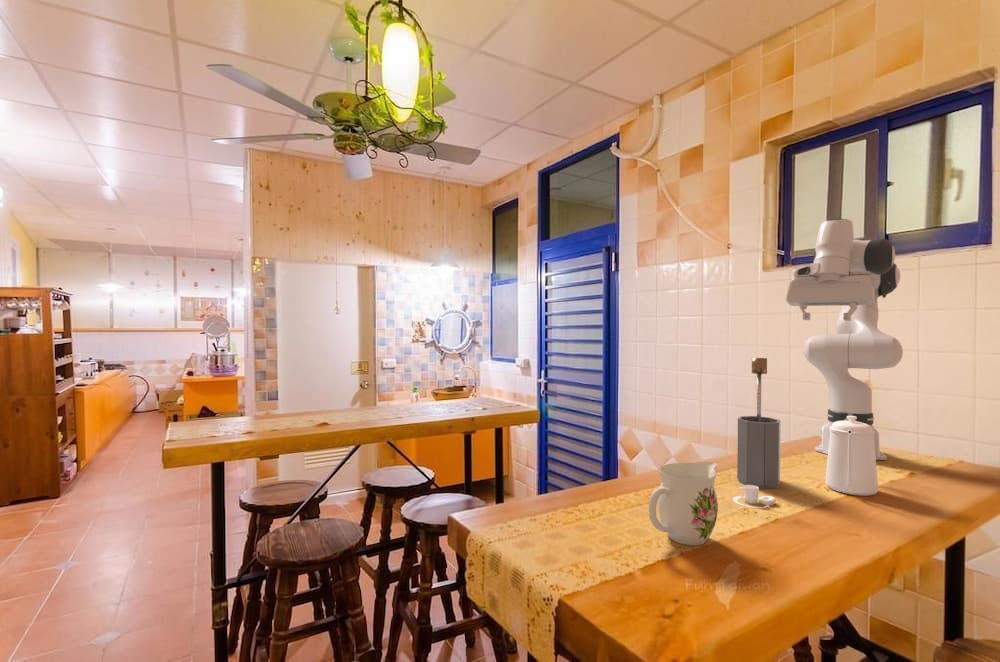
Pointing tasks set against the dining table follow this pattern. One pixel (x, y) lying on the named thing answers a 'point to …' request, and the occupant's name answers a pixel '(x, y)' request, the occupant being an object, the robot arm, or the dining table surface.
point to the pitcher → (686, 502)
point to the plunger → (759, 380)
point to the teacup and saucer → (754, 497)
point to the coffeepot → (852, 458)
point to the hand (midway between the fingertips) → (826, 319)
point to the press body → (758, 452)
